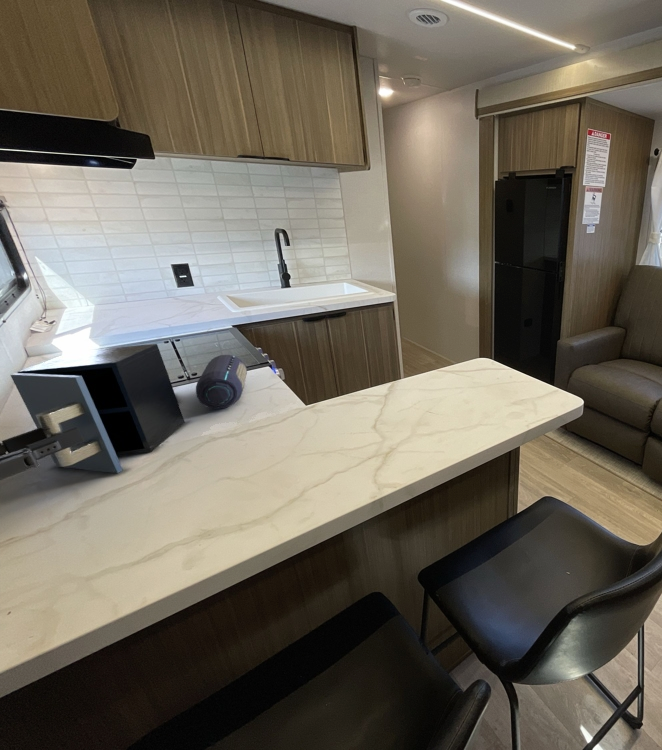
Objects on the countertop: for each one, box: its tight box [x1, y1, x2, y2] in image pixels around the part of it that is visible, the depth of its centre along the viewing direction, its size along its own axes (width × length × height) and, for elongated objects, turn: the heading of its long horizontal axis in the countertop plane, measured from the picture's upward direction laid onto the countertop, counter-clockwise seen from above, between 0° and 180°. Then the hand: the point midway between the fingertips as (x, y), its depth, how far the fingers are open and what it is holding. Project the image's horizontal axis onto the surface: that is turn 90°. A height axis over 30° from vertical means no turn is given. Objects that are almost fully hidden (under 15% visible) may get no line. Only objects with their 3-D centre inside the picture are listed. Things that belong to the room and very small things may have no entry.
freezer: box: [16, 343, 186, 457], centre depth 86 cm, size 14×16×20 cm
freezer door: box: [10, 372, 124, 474], centre depth 73 cm, size 7×16×20 cm, turn 78°
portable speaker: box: [195, 354, 248, 410], centre depth 111 cm, size 25×10×10 cm, turn 27°
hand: (67, 432), depth 73 cm, fingers open, 6 cm apart
